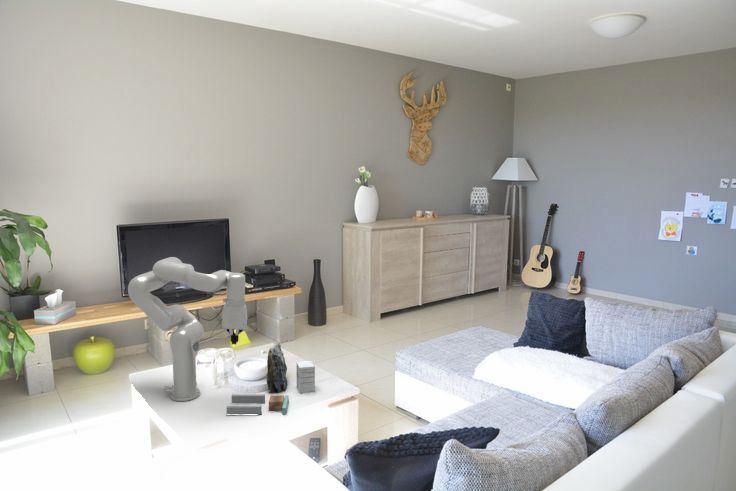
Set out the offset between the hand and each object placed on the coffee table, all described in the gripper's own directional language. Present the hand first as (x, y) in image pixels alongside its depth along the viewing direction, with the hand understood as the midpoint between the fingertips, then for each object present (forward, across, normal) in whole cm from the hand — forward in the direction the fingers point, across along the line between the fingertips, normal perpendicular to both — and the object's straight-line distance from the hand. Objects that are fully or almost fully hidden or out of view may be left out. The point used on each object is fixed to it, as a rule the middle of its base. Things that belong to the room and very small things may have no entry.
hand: (234, 343), depth 222 cm
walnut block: (+26, +20, -7) cm, 33 cm away
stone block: (+26, +18, +16) cm, 35 cm away
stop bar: (+25, +24, -7) cm, 35 cm away
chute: (+26, +7, -7) cm, 28 cm away
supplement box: (+25, +31, +11) cm, 41 cm away
